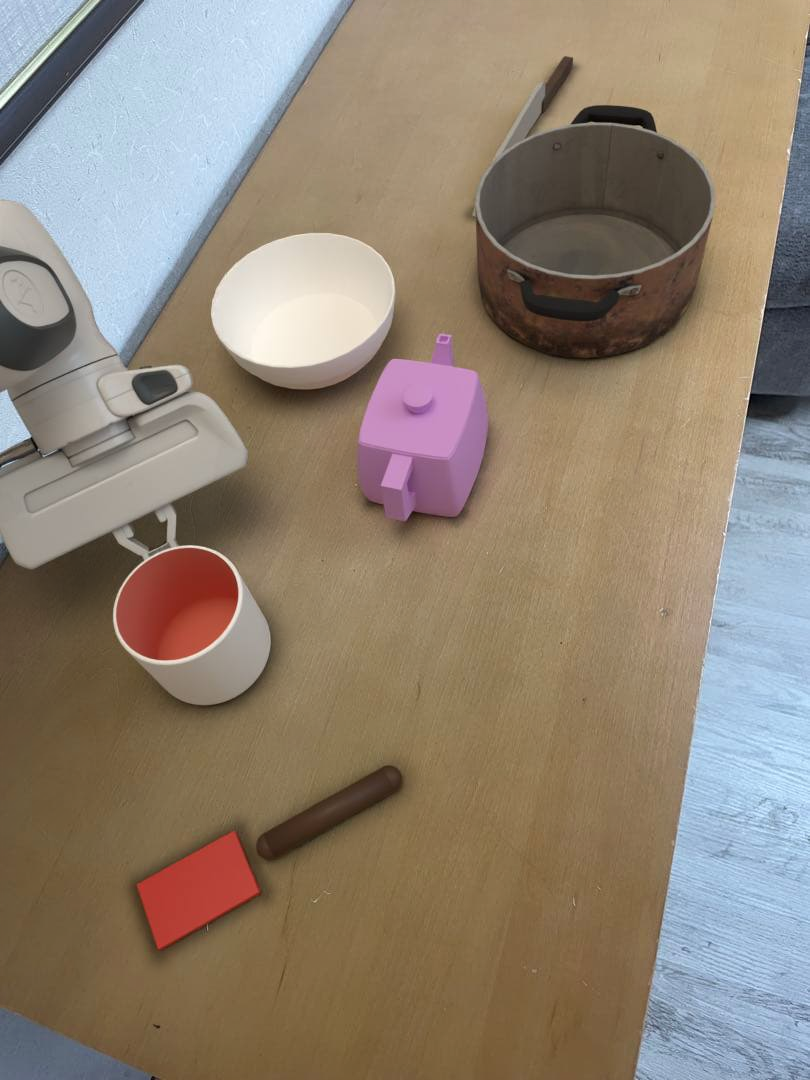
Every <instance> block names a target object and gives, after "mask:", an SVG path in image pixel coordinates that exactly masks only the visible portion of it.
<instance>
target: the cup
mask: <svg viewBox="0 0 810 1080" xmlns="http://www.w3.org/2000/svg"><path fill="white" fill-rule="evenodd" d="M112 623H113V629H114V632H115V635H116V637H117V640H118V641H119V643H120V645H121V646H122V648H123V649H124V650H125V651H126V652H128V654H129V655H131V656H132V658H134V660H135V661H137V663H138V664H139V665H140V666H142V668H144V669H145V671H147V672H148V674H149V675H150V676H151V677H153V679H154V680H155V681H156V682H157V683H158V684H159V685H160V686H161V687H162V688H163V689H164V690H165V691H167V693H168V694H170V695H171V696H173V697H174V698H176V699H178V700H180V701H182V702H184V703H187V704H190V705H191V704H192V705H196V706H211V705H212V706H213V705H217V704H221V703H225V702H228V701H230V700H232V699H235V698H236V697H238V696H240V695H241V694H243V693H244V692H245V691H247V690H248V689H249V688H250V687H252V685H253V684H254V683H255V682H256V681H257V680H258V678H259V677H260V676H261V675H262V673H263V671H264V669H265V667H266V665H267V662H268V659H269V657H270V653H271V647H272V646H271V645H272V644H271V643H272V642H271V641H272V640H271V631H270V627H269V624H268V622H267V619H266V617H265V615H264V614H263V612H262V610H261V609H260V607H259V604H257V602H256V600H255V598H254V597H253V595H252V593H251V592H250V590H249V588H248V586H247V585H246V583H245V581H244V579H243V578H242V576H241V575H240V573H239V571H238V569H237V568H236V566H235V565H234V564H233V562H232V561H231V560H230V559H229V558H227V557H226V556H225V555H224V554H222V553H221V552H219V551H217V550H214V549H212V548H209V547H206V546H201V545H193V544H192V545H191V544H189V545H179V546H177V547H173V548H169V549H166V550H163V551H161V552H158V553H156V554H154V555H153V556H151V557H149V558H148V559H146V560H145V561H144V560H143V561H142V562H140V563H139V564H138V565H137V566H136V567H135V568H134V569H133V570H132V571H131V572H130V573H129V574H128V576H127V577H126V578H125V580H123V582H122V584H121V585H120V588H119V590H118V592H117V594H116V597H115V600H114V604H113V610H112Z"/></svg>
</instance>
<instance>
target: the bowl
mask: <svg viewBox="0 0 810 1080" xmlns="http://www.w3.org/2000/svg"><path fill="white" fill-rule="evenodd" d="M395 301H396V282H395V278H394V275H393V273H392V269H391V267H390V266H389V264H388V262H386V260H385V259H384V257H383V256H382V255H381V254H380V253H379V252H378V251H376V250H375V248H373V247H372V246H370V245H368V244H367V243H365V242H362V241H361V240H359V239H356V238H353V237H350V236H347V235H342V234H337V233H330V232H308V233H300V234H292V235H289V236H286V237H282V238H278V239H275V240H273V241H271V242H268V243H265V244H263V245H261V246H259V247H257V248H256V249H254V250H252V251H251V252H249V253H247V254H246V255H245V256H244V257H242V258H241V259H240V260H238V261H237V262H236V263H234V264H233V266H231V268H230V269H229V270H227V272H226V273H225V274H224V275H223V277H222V279H221V281H220V282H219V283H218V285H217V287H216V288H215V291H214V294H213V298H212V301H211V311H210V317H211V322H212V327H213V330H214V332H215V334H216V336H217V338H218V340H219V342H220V343H221V344H222V346H223V347H224V348H225V350H226V351H227V352H228V355H230V357H231V358H232V359H233V360H234V361H235V362H236V363H237V364H238V365H239V367H241V368H243V369H244V370H245V371H247V372H248V373H249V374H251V375H253V376H256V377H257V378H259V379H260V380H262V381H264V382H266V383H268V384H271V385H273V386H277V387H280V388H285V389H286V388H287V389H291V390H307V391H308V390H315V389H322V388H326V387H331V386H334V385H336V384H338V383H340V382H343V381H345V380H347V379H349V378H350V377H352V376H353V375H355V374H356V373H358V372H359V371H360V370H361V369H363V368H364V367H365V366H366V365H367V364H368V363H369V362H370V361H371V360H373V358H374V357H375V355H376V354H377V353H378V352H379V350H380V348H381V346H382V344H383V343H384V341H385V339H386V337H387V336H388V333H389V331H390V329H391V327H392V323H393V318H394V314H395V313H394V312H395V303H396V302H395Z"/></svg>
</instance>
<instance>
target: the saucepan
mask: <svg viewBox="0 0 810 1080" xmlns="http://www.w3.org/2000/svg"><path fill="white" fill-rule="evenodd" d="M492 161H493V160H492ZM492 161H491V163H490V164H489V165H488V167H487V168H486V170H485V171H484V173H483V174H482V175H481V177H480V179H479V182H478V185H477V188H476V192H475V200H474V201H475V202H474V208H475V214H476V217H475V231H476V232H475V234H476V235H475V237H476V239H475V240H476V257H477V258H476V260H477V280H478V282H477V283H478V288H479V294H480V298H481V299H480V300H481V301H482V304H483V306H484V308H485V310H486V313H487V314H488V315H489V316H490V318H491V319H492V320H493V322H494V323H495V324H496V325H497V326H498V327H499V328H500V329H501V330H503V331H504V332H505V333H506V334H508V335H509V336H510V337H512V338H513V339H515V340H517V341H519V342H521V343H522V344H524V345H526V346H528V347H530V348H533V349H536V350H539V351H540V352H542V353H547V354H550V355H551V354H552V355H556V356H561V357H566V358H577V359H579V358H580V359H593V358H604V357H610V356H615V355H620V354H625V353H627V352H630V351H633V350H635V349H638V348H641V347H644V346H647V345H648V344H649V343H652V342H654V341H655V340H657V339H658V338H660V337H663V336H664V335H665V334H666V333H668V331H669V330H671V329H672V328H673V327H674V326H676V324H677V323H678V322H679V321H680V320H681V318H682V317H683V316H684V314H685V313H686V312H687V310H688V308H689V305H690V303H691V301H692V299H693V297H694V294H695V291H696V288H697V283H698V279H699V275H700V272H701V266H702V262H703V258H704V255H705V250H706V247H707V242H708V238H709V234H710V231H711V225H712V221H713V218H714V213H715V206H716V201H717V197H716V190H715V183H714V182H713V179H712V177H711V174H710V173H709V170H708V169H707V168H706V166H705V165H704V163H703V162H702V161H701V160H700V158H699V157H698V156H696V155H695V154H694V153H693V152H692V151H691V150H690V149H688V148H687V147H686V146H685V145H683V144H681V143H680V142H677V141H676V140H675V139H673V138H671V137H669V136H666V135H664V134H661V133H659V132H658V131H657V125H656V122H655V118H654V116H653V114H652V113H651V112H650V111H648V110H646V109H643V108H639V107H634V106H626V105H612V104H611V105H610V104H598V105H597V104H595V105H590V106H586V107H584V108H582V109H581V110H580V111H579V112H578V114H576V116H575V117H574V119H573V120H572V121H571V123H570V124H567V125H562V126H558V127H552V128H548V129H546V130H543V131H540V132H537V133H533V134H531V135H529V136H526V137H525V139H523V140H521V141H519V142H517V143H516V144H514V145H513V146H511V147H510V148H508V149H507V150H506V151H504V152H503V153H501V154H500V155H499V156H498V157H497V158H496V159H495V160H494V161H493V162H492Z"/></svg>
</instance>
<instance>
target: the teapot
mask: <svg viewBox="0 0 810 1080" xmlns="http://www.w3.org/2000/svg"><path fill="white" fill-rule="evenodd" d="M452 337H453V336H452V334H445V333H439V334H438V335H437V338H436V341H435V345H434V349H433V353H432V356H431V360H430V362H425V361H418V360H412V359H411V360H410V359H403V358H402V359H401V358H392V359H391V360H390V361H389V362H388V363H387V364H386V366H385V367H384V369H383V371H382V373H381V375H380V377H379V379H378V381H377V383H376V385H375V387H374V390H373V391H372V394H371V396H370V399H369V402H368V404H367V406H366V410H365V413H364V416H363V419H362V422H361V424H360V429H359V433H358V441H357V473H358V480H359V486H360V488H361V491H362V493H363V495H364V496H365V497H366V498H367V499H368V501H369V502H372V503H376V504H380V505H383V508H384V515H385V518H387V519H393V520H396V521H397V520H398V521H402V522H406V521H407V520H408V518H409V517H410V515H411V514H412V512H416V513H422V514H426V515H433V516H439V517H446V518H456V517H458V515H459V514H460V513H461V511H462V510H463V508H464V507H465V505H466V503H467V501H468V498H469V496H470V495H471V494H470V493H471V491H472V489H473V487H474V484H475V481H476V479H477V477H478V474H479V471H480V468H481V465H482V462H483V457H484V454H485V449H486V443H487V437H488V430H489V414H488V413H489V412H488V405H487V399H486V396H485V392H484V389H483V386H482V382H481V380H480V377H479V374H478V372H477V371H476V370H472V369H467V368H463V367H458V366H457V367H456V366H455V365H454V363H455V362H454V351H453V338H452Z"/></svg>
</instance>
